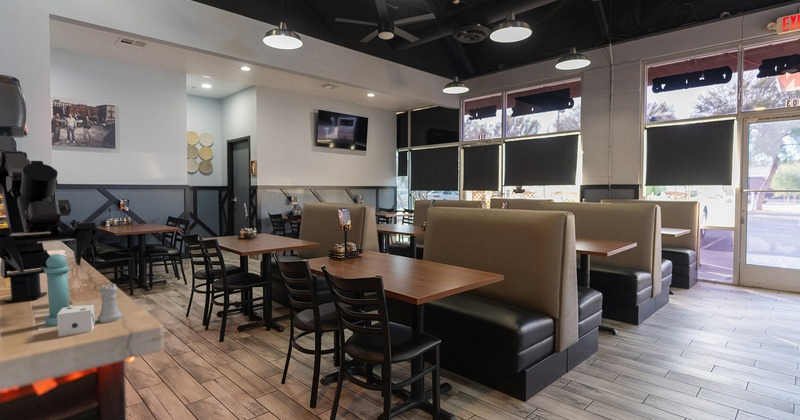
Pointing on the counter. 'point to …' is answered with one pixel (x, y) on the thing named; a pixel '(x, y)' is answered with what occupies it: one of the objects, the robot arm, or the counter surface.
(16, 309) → the counter surface
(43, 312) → the board
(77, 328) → the die
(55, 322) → the pawn
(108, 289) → the rook chess piece
